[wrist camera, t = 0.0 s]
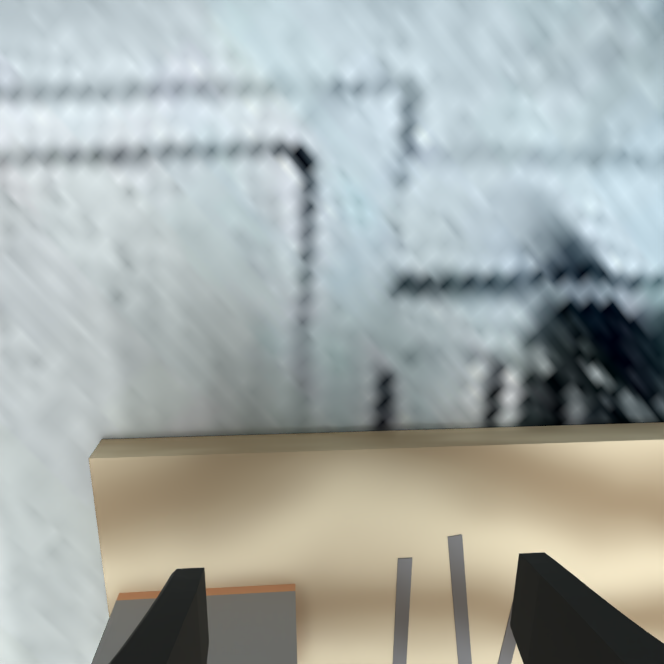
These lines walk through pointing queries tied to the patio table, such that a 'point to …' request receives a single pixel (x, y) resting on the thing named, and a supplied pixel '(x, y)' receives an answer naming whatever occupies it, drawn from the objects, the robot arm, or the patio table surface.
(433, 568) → the board
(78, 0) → the patio table surface
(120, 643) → the block
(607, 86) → the patio table surface
